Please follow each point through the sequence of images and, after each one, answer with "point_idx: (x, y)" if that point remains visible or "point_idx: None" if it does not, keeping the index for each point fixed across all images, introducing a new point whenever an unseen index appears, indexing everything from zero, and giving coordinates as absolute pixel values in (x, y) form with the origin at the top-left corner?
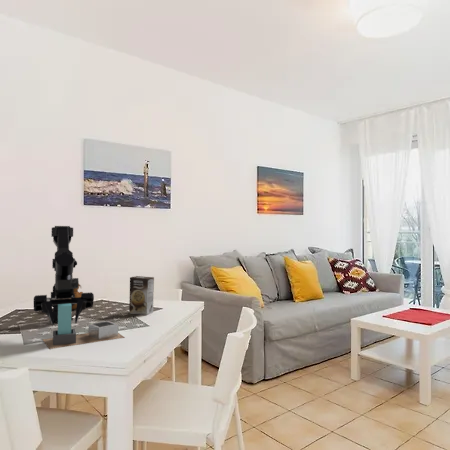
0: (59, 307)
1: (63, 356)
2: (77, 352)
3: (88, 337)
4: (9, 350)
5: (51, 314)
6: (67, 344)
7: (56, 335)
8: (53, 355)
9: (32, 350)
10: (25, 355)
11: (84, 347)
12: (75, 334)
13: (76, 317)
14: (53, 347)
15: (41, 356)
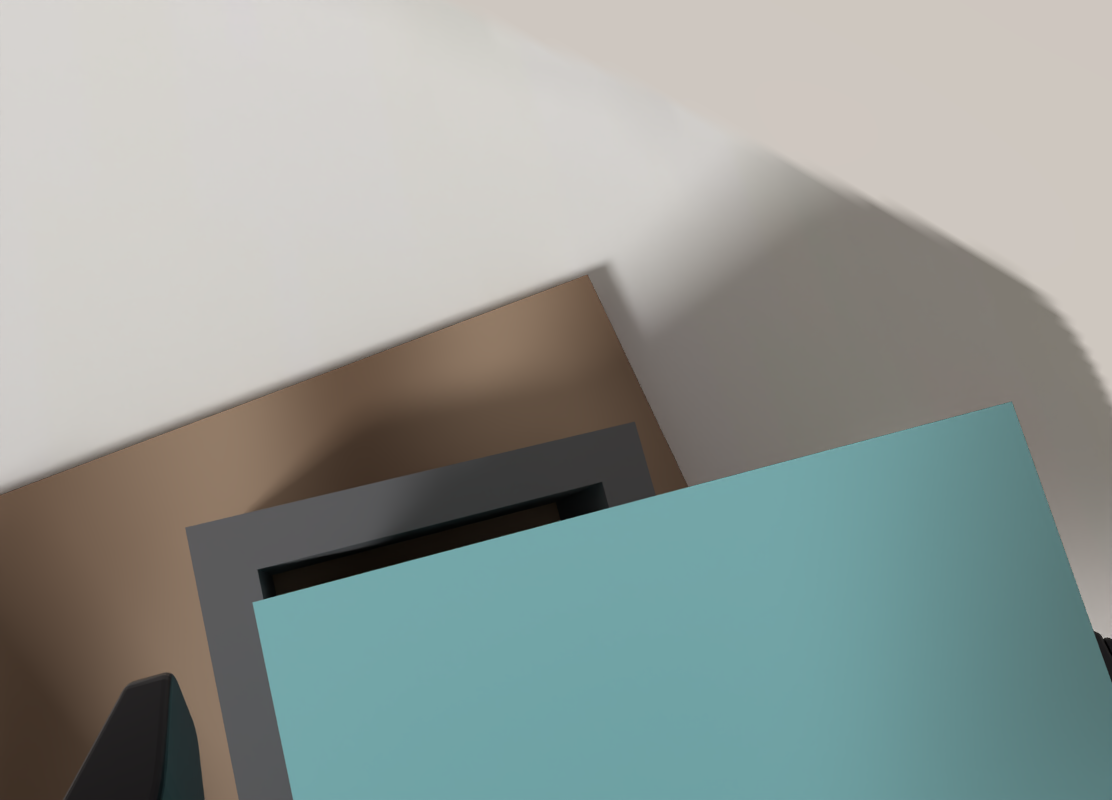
0: (916, 427)
1: (326, 41)
2: (140, 169)
3: None
4: (1079, 435)
5: None
6: (355, 468)
7: (582, 449)
8: (475, 115)
9: (814, 387)
10: (820, 196)
11: (42, 413)
12: (199, 526)
13: (117, 786)
14: (547, 338)
15: (618, 112)
